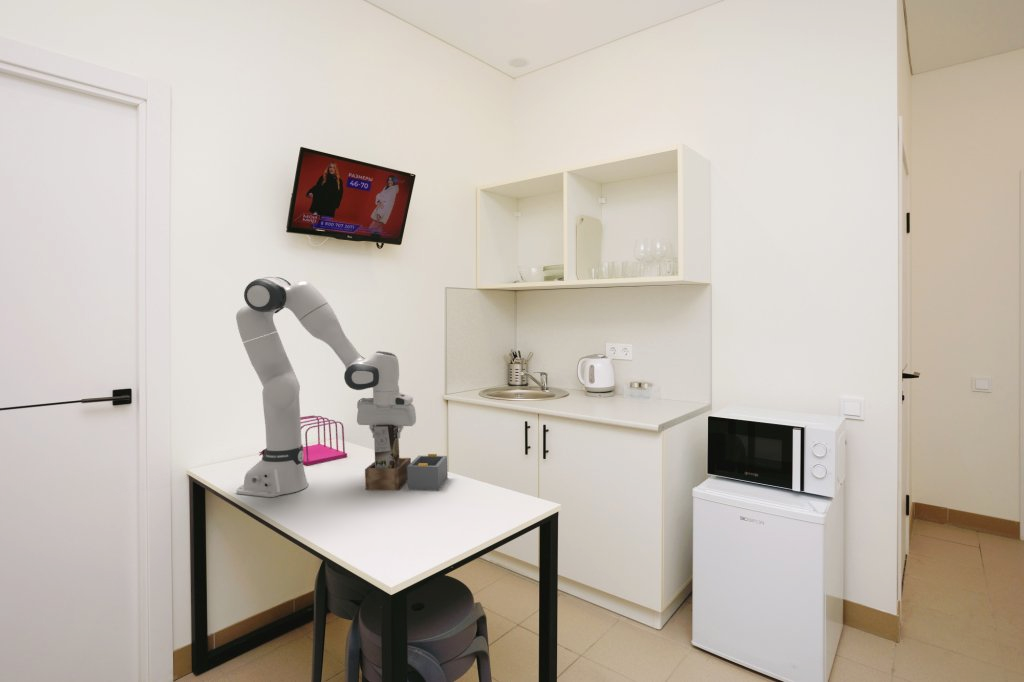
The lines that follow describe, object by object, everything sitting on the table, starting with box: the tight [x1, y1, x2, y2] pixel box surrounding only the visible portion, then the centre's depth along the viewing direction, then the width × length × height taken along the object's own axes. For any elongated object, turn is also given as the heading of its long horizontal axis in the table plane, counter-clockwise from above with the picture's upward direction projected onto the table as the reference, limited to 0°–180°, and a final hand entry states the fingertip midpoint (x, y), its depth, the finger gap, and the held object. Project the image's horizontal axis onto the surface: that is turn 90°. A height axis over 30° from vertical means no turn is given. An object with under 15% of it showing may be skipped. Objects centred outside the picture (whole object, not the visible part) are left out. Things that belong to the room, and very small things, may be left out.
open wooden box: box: [364, 457, 412, 491], centre depth 184 cm, size 11×14×7 cm
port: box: [407, 453, 449, 492], centre depth 183 cm, size 10×13×9 cm
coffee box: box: [373, 424, 400, 469], centre depth 184 cm, size 9×6×16 cm
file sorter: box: [300, 415, 348, 466], centre depth 222 cm, size 17×25×16 cm
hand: (386, 438), depth 184 cm, fingers closed on coffee box, 6 cm apart
